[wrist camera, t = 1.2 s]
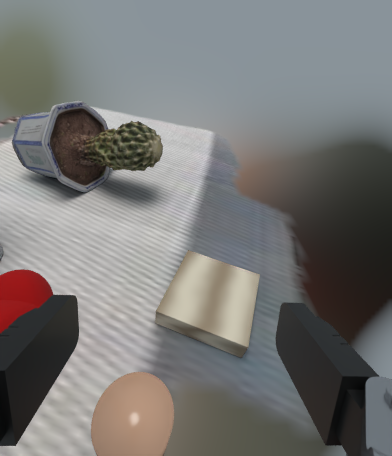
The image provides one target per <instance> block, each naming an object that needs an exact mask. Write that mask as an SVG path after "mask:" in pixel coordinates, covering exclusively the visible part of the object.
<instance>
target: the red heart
mask: <svg viewBox="0 0 392 456" xmlns="http://www.w3.org/2000/svg"><path fill="white" fill-rule="evenodd" d="M52 295H53V292H52V289H51V287H50V285H49V284H48V282H47V281H46V279H45V278H43V277H42V276H41V275H40V274H38V273H36V272H34V271H31V270H14V271H10V272H7V273H4V274H2V275H0V333H1V332H3V331H4V330H5V329H8V326H9V325H10V324H12V323H13V322H14V321H15V320H16V319H17V318H18V317H19V316H21V315H23V314H25V313H27V312H29V311H30V310H32V309H34V308H39V307H40V306H41V305H42V304H43V303H44V302H45V301H47V300H48V299H49V298H50V297H51V296H52Z"/></svg>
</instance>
